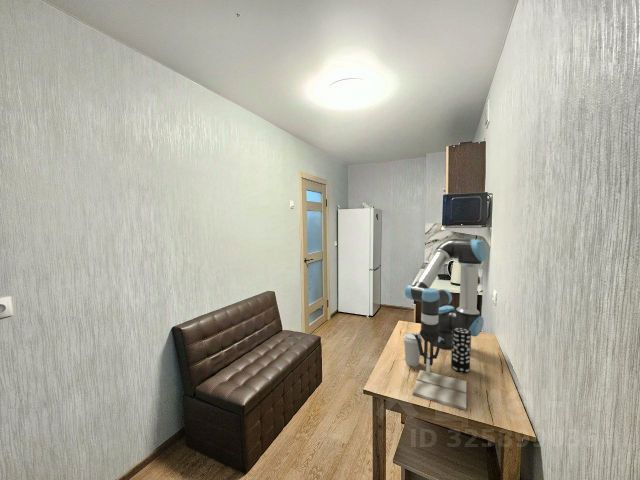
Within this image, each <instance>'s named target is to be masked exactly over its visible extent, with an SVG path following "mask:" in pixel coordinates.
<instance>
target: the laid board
mask: <svg viewBox="0 0 640 480" xmlns="http://www.w3.org/2000/svg"><path fill="white" fill-rule="evenodd" d="M412 396H415V397H419V398H422V399H425V400H429V401H432V402H436V403H438V404H443V405H445V406H450V407H453V408H456V409H459V410H463V411H465V412H467V393H466V394H465V393H461V392H458V391H454V390H450V389H446V388H443V387H439V386H435V385H432V384H428V383H424V382H420V381H417V380H415V384H414V387H413V391H412Z"/></svg>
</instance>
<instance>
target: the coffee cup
mask: <svg viewBox="0 0 640 480" xmlns="http://www.w3.org/2000/svg"><path fill="white" fill-rule="evenodd" d="M415 334H416V333H415V332H407V333H405V334H404V335H403V339H402V340H403V342H404V357H405V359H404V360H405V364H406V365H408V366H409V367H418V366H419V365H420V358H421V357H420V356H421V355H420V352H419V347H418V343H417V339H416V338H415ZM420 339H421V344H422V343H424V340H423V338H422V337H420Z"/></svg>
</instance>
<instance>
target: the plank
mask: <svg viewBox="0 0 640 480" xmlns="http://www.w3.org/2000/svg"><path fill="white" fill-rule="evenodd" d="M416 381H420V382H424V383H428V384H432V385H435V386H439V387H443V388H446V389H450V390H454V391H458V392H461V393H465V394H466V395H467V381H466V380H462V379H459V378H455V377H450V376H446V375H443V374H439V373H435V372H431V371H430V373H428V372H426V370H424V369H423V370H422V369H419V371H418V374H417V378H416Z"/></svg>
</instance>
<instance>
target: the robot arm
mask: <svg viewBox="0 0 640 480" xmlns="http://www.w3.org/2000/svg"><path fill="white" fill-rule="evenodd" d="M432 254H433V256H432V258H431V259H430V260H429V261H428V263H427V265H426V266H425V268H424V269H423V271H422V272H421V273H420V275H419V276H418V278H417V279H416V281H415V282H414V284H408V285H406V287H405V289H404V295H405V297H406V298H407V299H409V300H412V301H417V302H421V313H420V314H421V315H420V316H421V317H420V321H421V322H420V331H419V332H418V333H416V334H415V338H416V339H417V343H418V347H419V352H420V356H421V357H423V364H424V365H425V366H426V368H425V371H426V372H428V373H430V372H431V367H432V366H433V364H434V360H435V359H438V355H439V352H440V349H443V350H452V329H453V328H456V327H459V328H465V329H468V330H470V331H471V337H478V336H479V335H480V333H481V332H482V330H483V327H484V322H485V321H484V317H482V316H481V315H480V313H481V312H480V311H479V310H478V309H477V305H478V284H479V267H481V265H482V262H484V261H485V260H486V258H487V247H486V245H485V242H484V241H483V240H481V239H474V238H450V239H448V240H445V241H443V242H442V243H441V244H440V245H438V246H437V247H436V248H435V249H434V251H433V253H432ZM452 259H456V260H457V259H458V260H457V262H458V264H459V265H460V278H459V279H460V280H459V281H460V282H459V284H460V285H459V305H458V307H456V310H455V307H454V306H453V305H449V304H451V302H452V301H453V296H452V293H451V292H450V291H449V290H447V289H436V288H431V286H432V285H433V283H434V282H435V280H436V279H437V278H438V275H439V273H440V272H441V270H442V269H443V267H444V266H445V264H446V263H448V262H450V260H452ZM420 337H421V338H422V341H423V343H424V345H422V343H421V339H420ZM428 344H429V347H428ZM434 347H436V350H435V352H434ZM428 348H429V349H428ZM428 350H429V356H428Z"/></svg>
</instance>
